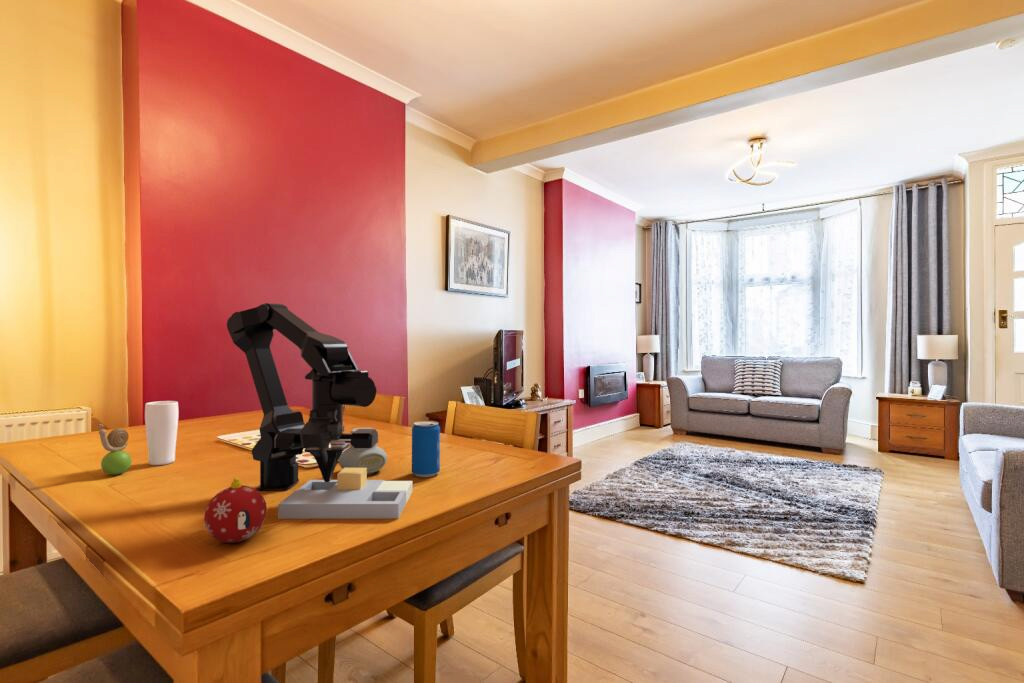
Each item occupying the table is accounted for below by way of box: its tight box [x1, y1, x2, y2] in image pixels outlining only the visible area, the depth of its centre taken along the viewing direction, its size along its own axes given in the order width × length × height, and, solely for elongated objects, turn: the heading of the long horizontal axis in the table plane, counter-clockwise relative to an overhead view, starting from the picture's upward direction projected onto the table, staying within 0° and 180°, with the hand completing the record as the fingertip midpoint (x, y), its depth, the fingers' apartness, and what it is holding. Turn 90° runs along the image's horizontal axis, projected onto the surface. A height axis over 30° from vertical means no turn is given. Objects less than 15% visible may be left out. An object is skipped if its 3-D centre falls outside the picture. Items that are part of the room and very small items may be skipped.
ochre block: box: [336, 468, 368, 489], centre depth 99 cm, size 4×4×3 cm
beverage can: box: [411, 420, 441, 478], centre depth 116 cm, size 6×6×12 cm
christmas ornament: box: [203, 476, 268, 544], centre depth 78 cm, size 9×9×10 cm
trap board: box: [278, 479, 414, 520], centre depth 95 cm, size 21×15×3 cm
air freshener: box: [338, 427, 388, 476], centre depth 117 cm, size 11×8×10 cm
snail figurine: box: [97, 423, 133, 476], centre depth 112 cm, size 5×6×12 cm
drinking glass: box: [144, 400, 180, 466], centre depth 122 cm, size 7×7×15 cm
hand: (327, 481), depth 99 cm, fingers closed
